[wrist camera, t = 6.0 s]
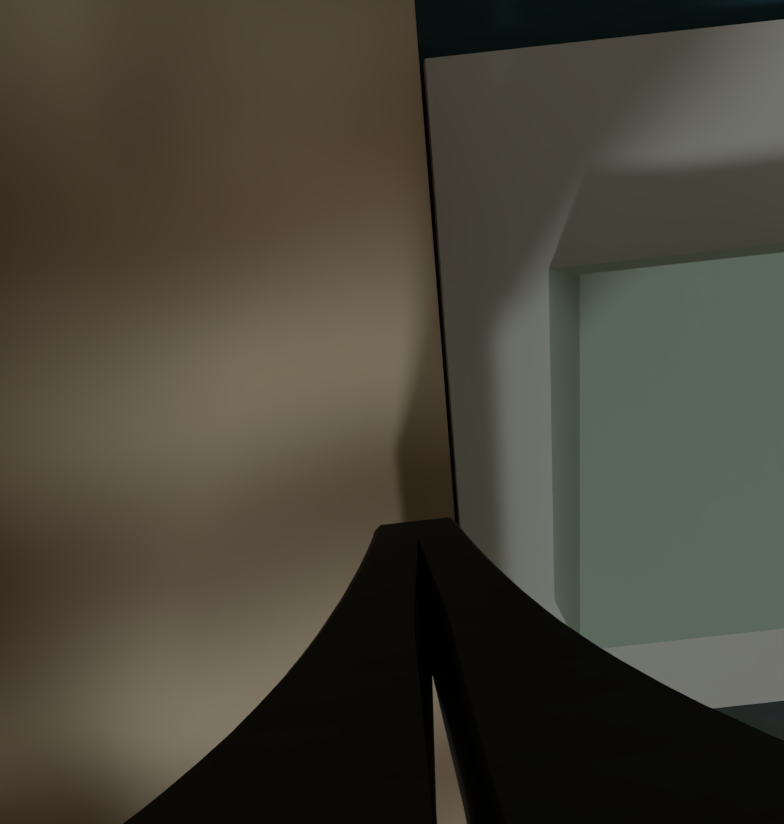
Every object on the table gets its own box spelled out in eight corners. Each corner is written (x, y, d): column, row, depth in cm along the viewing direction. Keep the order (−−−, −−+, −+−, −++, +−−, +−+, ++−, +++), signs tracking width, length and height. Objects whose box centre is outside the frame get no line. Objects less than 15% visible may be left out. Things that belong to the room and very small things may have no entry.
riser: (459, 749, 17) (484, 892, 14) (83, 791, 17) (1, 945, 14) (394, 11, 11) (406, -102, 8) (-183, 75, 11) (-462, -7, 8)
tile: (580, 651, 13) (554, 599, 15) (824, 624, 13) (768, 576, 15) (579, 274, 11) (548, 269, 13) (884, 241, 11) (808, 240, 13)
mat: (921, 673, 17) (933, 683, 17) (473, 723, 17) (476, 734, 17) (1079, -8, 12) (1103, -17, 11) (423, 64, 12) (424, 58, 11)
